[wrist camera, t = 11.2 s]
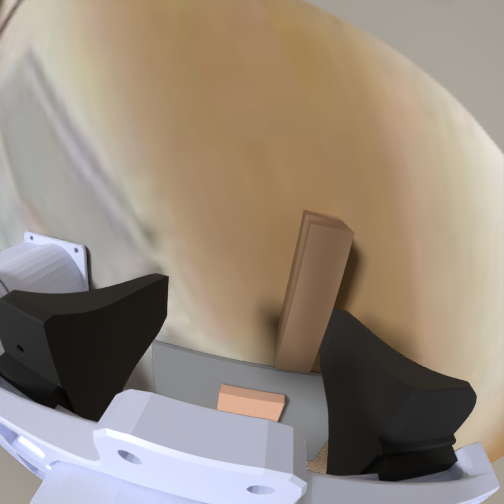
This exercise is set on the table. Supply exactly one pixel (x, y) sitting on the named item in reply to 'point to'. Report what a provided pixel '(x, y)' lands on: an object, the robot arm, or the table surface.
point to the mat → (244, 376)
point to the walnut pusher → (311, 289)
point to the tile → (250, 402)
